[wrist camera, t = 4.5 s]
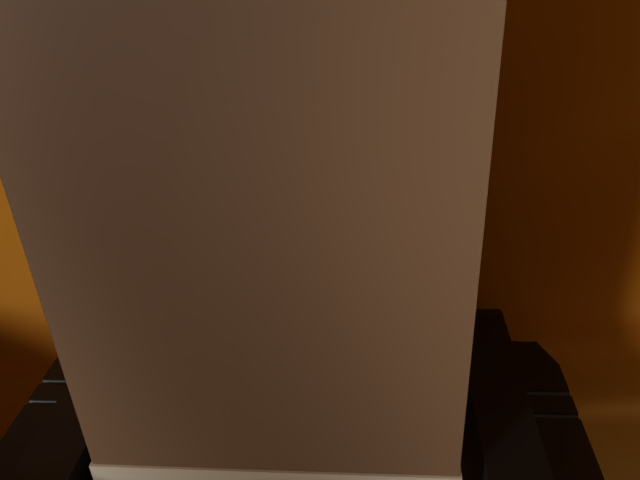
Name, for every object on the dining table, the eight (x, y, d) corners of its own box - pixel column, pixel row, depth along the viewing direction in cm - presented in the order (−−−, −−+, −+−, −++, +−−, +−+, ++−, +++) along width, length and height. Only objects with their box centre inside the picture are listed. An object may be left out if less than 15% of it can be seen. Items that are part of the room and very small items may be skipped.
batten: (475, -537, 6) (644, -1243, 2) (410, 649, 15) (421, 873, 12) (52, -491, 6) (-403, -1035, 2) (251, 640, 16) (215, 854, 12)
